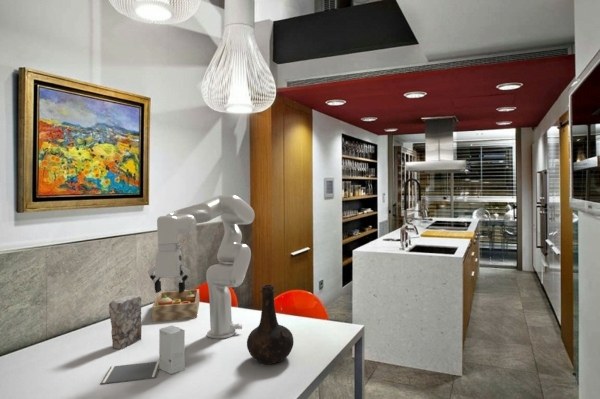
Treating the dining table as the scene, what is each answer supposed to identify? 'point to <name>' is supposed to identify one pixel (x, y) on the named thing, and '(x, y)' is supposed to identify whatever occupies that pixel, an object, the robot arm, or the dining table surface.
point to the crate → (175, 306)
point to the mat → (131, 372)
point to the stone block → (125, 321)
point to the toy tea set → (170, 302)
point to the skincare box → (171, 349)
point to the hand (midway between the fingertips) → (169, 292)
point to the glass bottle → (269, 333)
